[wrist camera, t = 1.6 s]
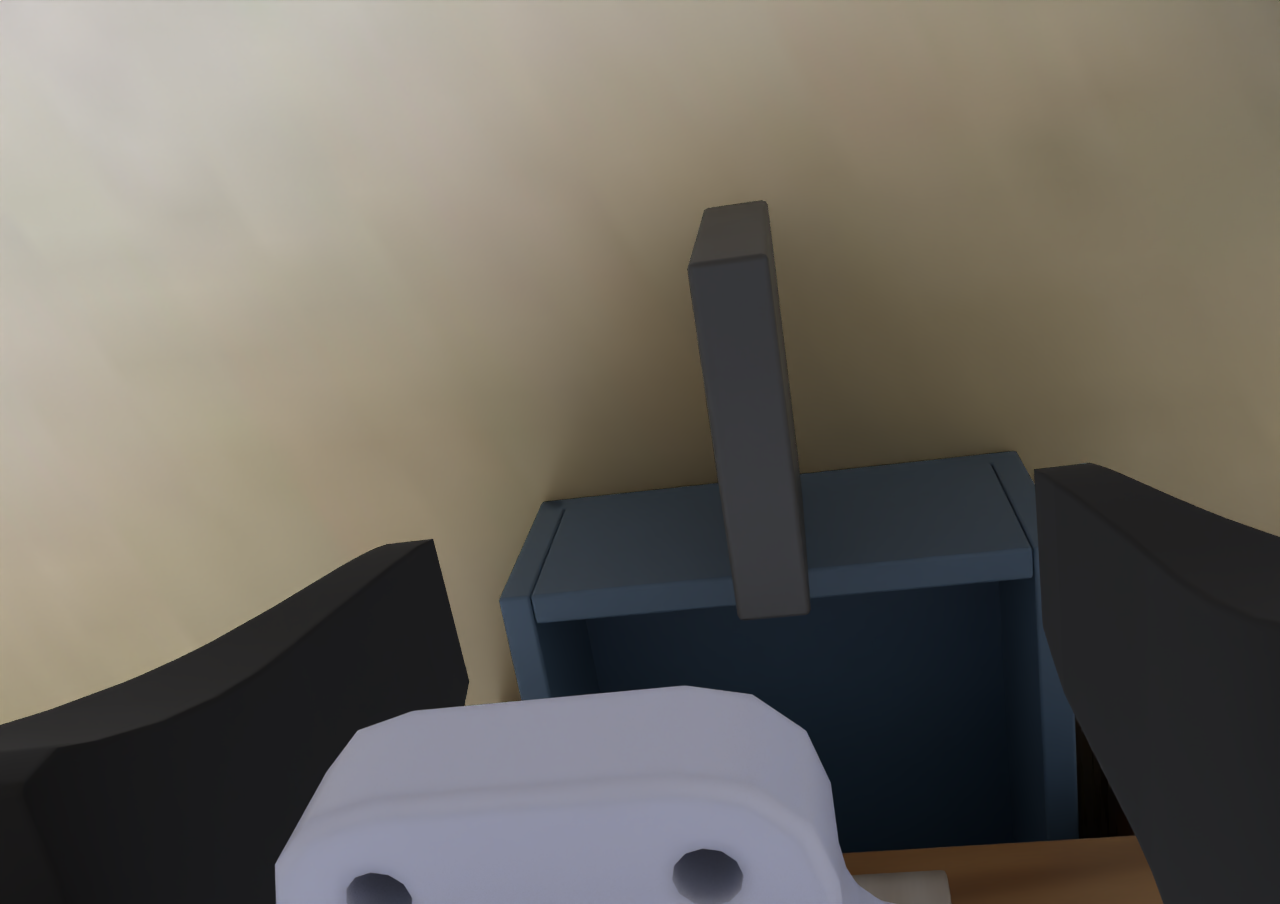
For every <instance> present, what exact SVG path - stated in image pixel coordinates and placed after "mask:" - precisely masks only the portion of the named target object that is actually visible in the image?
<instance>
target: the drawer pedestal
mask: <svg viewBox="0 0 1280 904" xmlns="http://www.w3.org/2000/svg"><path fill="white" fill-rule="evenodd" d="M1075 733H1076V762H1077V791H1078V820H1079V839H1067V840H1051V841H1034V842H1017V843H1001V844H984V845H967V846H951V847H934V848H917V849H900V850H884V851H867V852H850V853H842V855H843V858H844V861H845V865H846V868H847V869H848V871H849V872H850V874H851V875H852V877H853V878H854V880H855V882H856V883H857V884H858V885H859V886H861V887H862V888H863V889H865V890H866V891H868V892H869V893H871V894H872V895H873V896H875V897H876V898H878V899H880V900H882V901H885V902H890V903H895V904H1163V901H1162V898H1161V896H1160V893H1159V890H1158V887H1157V885H1156V882H1155V879H1154V876H1153V874H1152V871H1151V869H1150V867H1149V865H1148V862H1147V860H1146V858H1145V856H1144V853H1143V851H1142V849H1141V846H1140V844H1139V842H1138V840H1137V838H1136V836H1135V834H1134V832H1133V830H1132V828H1131V826H1130V824H1129V822H1128V820H1127V818H1126V816H1125V814H1124V812H1123V810H1122V808H1121V806H1120V804H1119V802H1118V800H1117V798H1116V796H1115V794H1114V792H1113V790H1112V788H1111V786H1110V784H1109V782H1108V780H1107V778H1106V776H1105V774H1104V772H1103V770H1102V769H1101V767H1100V765H1099V763H1098V761H1097V759H1096V757H1095V755H1094V753H1093V751H1092V749H1091V747H1090V745H1089V743H1088V741H1087V739H1086V737H1085V735H1084V733H1083V731H1082V729H1081V727H1080V725H1079V723H1078V721H1077V719H1076V717H1075Z"/></svg>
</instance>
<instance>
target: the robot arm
mask: <svg viewBox="0 0 1280 904" xmlns="http://www.w3.org/2000/svg"><path fill="white" fill-rule="evenodd" d="M1034 478H1035V496H1036V515H1037V533H1038V551H1039V569H1040V587H1041V606H1042V624H1043V629H1044V632H1045V635H1046V639H1047V642H1048V645H1049V648H1050V652H1051V655H1052V658H1053V661H1054V664H1055V667H1056V670H1057V673H1058V676H1059V679H1060V682H1061V685H1062V688H1063V691H1064V694H1065V696H1066V698H1067V700H1068V702H1069V704H1070V706H1071V709H1072V711H1073V713H1074V715H1075V717H1076V719H1077V721H1078V723H1079V725H1080V727H1081V729H1082V731H1083V733H1084V735H1085V737H1086V739H1087V741H1088V743H1089V745H1090V747H1091V749H1092V751H1093V753H1094V755H1095V757H1096V759H1097V761H1098V763H1099V765H1100V767H1101V769H1102V770H1103V772H1104V774H1105V776H1106V778H1107V780H1108V782H1109V784H1110V786H1111V788H1112V790H1113V792H1114V794H1115V796H1116V798H1117V800H1118V802H1119V804H1120V806H1121V808H1122V810H1123V812H1124V814H1125V816H1126V818H1127V820H1128V822H1129V824H1130V826H1131V828H1132V830H1133V832H1134V834H1135V836H1136V838H1137V840H1138V842H1139V844H1140V846H1141V849H1142V851H1143V853H1144V856H1145V858H1146V860H1147V862H1148V865H1149V867H1150V869H1151V871H1152V874H1153V876H1154V879H1155V882H1156V885H1157V887H1158V890H1159V893H1160V896H1161V898H1162V901H1163V904H1280V537H1278V536H1275V535H1272V534H1269V533H1266V532H1263V531H1260V530H1258V529H1255V528H1252V527H1249V526H1246V525H1243V524H1241V523H1238V522H1235V521H1232V520H1229V519H1227V518H1224V517H1222V516H1219V515H1216V514H1214V513H1211V512H1209V511H1206V510H1204V509H1201V508H1199V507H1196V506H1194V505H1192V504H1189V503H1187V502H1185V501H1182V500H1180V499H1178V498H1175V497H1173V496H1171V495H1168V494H1166V493H1164V492H1161V491H1159V490H1157V489H1155V488H1152V487H1150V486H1148V485H1146V484H1143V483H1141V482H1139V481H1137V480H1134V479H1132V478H1130V477H1127V476H1125V475H1123V474H1120V473H1118V472H1116V471H1113V470H1111V469H1108V468H1105V467H1102V466H1100V465H1096V464H1092V463H1085V464H1077V465H1068V466H1059V467H1051V468H1042V469H1034ZM468 685H469V679H468V675H467V671H466V667H465V663H464V659H463V655H462V651H461V647H460V643H459V639H458V635H457V631H456V628H455V624H454V620H453V616H452V612H451V608H450V604H449V600H448V596H447V592H446V588H445V584H444V580H443V576H442V572H441V568H440V564H439V560H438V556H437V552H436V548H435V545H434V541H433V539H429V540H420V541H411V542H403V543H394V544H386V545H383V546H381V547H378V548H375V549H373V550H371V551H369V552H366V553H364V554H363V555H361V556H359V557H357V558H355V559H353V560H351V561H349V562H348V563H346V564H344V565H343V566H341V567H339V568H337V569H336V570H334V571H332V572H331V573H329V574H327V575H326V576H324V577H322V578H321V579H319V580H317V581H316V582H314V583H312V584H311V585H309V586H307V587H306V588H304V589H302V590H301V591H299V592H297V593H296V594H294V595H293V596H291V597H289V598H288V599H286V600H284V601H283V602H281V603H279V604H278V605H276V606H274V607H273V608H271V609H269V610H267V611H265V612H264V613H262V614H260V615H258V616H257V617H255V618H253V619H251V620H249V621H248V622H246V623H244V624H242V625H241V626H239V627H237V628H235V629H233V630H232V631H230V632H228V633H226V634H225V635H223V636H221V637H219V638H217V639H216V640H214V641H212V642H210V643H208V644H206V645H204V646H202V647H200V648H198V649H196V650H194V651H192V652H190V653H188V654H186V655H184V656H182V657H180V658H178V659H176V660H174V661H171V662H169V663H167V664H165V665H163V666H160V667H158V668H156V669H154V670H151V671H149V672H147V673H145V674H143V675H140V676H138V677H136V678H133V679H131V680H128V681H126V682H124V683H121V684H118V685H116V686H113V687H110V688H107V689H105V690H102V691H99V692H97V693H94V694H91V695H89V696H86V697H83V698H80V699H78V700H75V701H72V702H70V703H67V704H64V705H61V706H59V707H56V708H53V709H50V710H47V711H44V712H41V713H38V714H35V715H32V716H28V717H25V718H22V719H18V720H15V721H12V722H9V723H5V724H2V725H0V904H895V903H890V902H885V901H882V900H880V899H878V898H876V897H875V896H873V895H872V894H871V893H869V892H868V891H866V890H865V889H863V888H862V887H861V886H859V885H858V884H857V883H856V882H855V880H854V878H853V877H852V875H851V874H850V872H849V871H848V869H847V868H846V865H845V861H844V858H843V855H842V851H841V848H840V845H839V841H838V833H837V826H836V818H835V811H834V803H833V796H832V788H831V782H830V780H829V778H828V776H827V774H826V772H825V770H824V767H823V765H822V763H821V761H820V759H819V757H818V755H817V753H816V751H815V748H814V746H813V744H812V742H811V740H810V738H809V736H808V734H807V731H806V730H804V729H803V728H801V727H800V726H798V725H797V724H795V723H794V722H793V721H791V720H790V719H788V718H787V717H785V716H784V715H782V714H781V713H779V712H778V711H776V710H775V709H773V708H772V707H770V706H769V705H767V704H766V703H764V702H763V701H761V700H760V699H758V698H757V697H755V696H754V695H753V694H745V693H738V692H730V691H723V690H715V689H708V688H700V687H693V686H674V687H663V688H653V689H642V690H631V691H620V692H610V693H599V694H588V695H578V696H567V697H556V698H545V699H535V700H524V701H513V702H503V703H492V704H481V705H470V706H464V705H465V700H466V695H467V690H468Z"/></svg>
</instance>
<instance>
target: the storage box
mask: <svg viewBox="0 0 1280 904" xmlns="http://www.w3.org/2000/svg"><path fill="white" fill-rule="evenodd" d="M687 270H688V277H689V284H690V291H691V298H692V305H693V312H694V319H695V326H696V332H697V339H698V346H699V353H700V360H701V367H702V374H703V381H704V388H705V394H706V401H707V408H708V415H709V422H710V429H711V436H712V443H713V450H714V457H715V463H716V470H717V477H718V483H713V484H704V485H694V486H685V487H676V488H667V489H657V490H648V491H639V492H630V493H620V494H611V495H602V496H592V497H583V498H574V499H565V500H555V501H546V502H543V503H542V504H541V506H540V509H539V511H538V513H537V515H536V518H535V520H534V522H533V525H532V527H531V529H530V531H529V534H528V536H527V538H526V540H525V543H524V545H523V547H522V549H521V552H520V554H519V556H518V558H517V561H516V563H515V565H514V567H513V570H512V572H511V574H510V576H509V579H508V581H507V583H506V585H505V588H504V590H503V592H502V595H501V597H500V600H499V602H500V607H501V611H502V616H503V620H504V625H505V629H506V634H507V638H508V643H509V647H510V652H511V656H512V661H513V665H514V670H515V674H516V679H517V683H518V688H519V692H520V697H521V701H524V700H535V699H545V698H556V697H567V696H578V695H588V694H599V693H610V692H620V691H631V690H642V689H653V688H663V687H674V686H693V687H700V688H708V689H715V690H723V691H730V692H738V693H745V694H753V695H754V696H755V697H757V698H758V699H760V700H761V701H763V702H764V703H766V704H767V705H769V706H770V707H772V708H773V709H775V710H776V711H778V712H779V713H781V714H782V715H784V716H785V717H787V718H788V719H790V720H791V721H793V722H794V723H795V724H797V725H798V726H800V727H801V728H803V729H804V730H806V731H807V734H808V736H809V738H810V740H811V742H812V744H813V746H814V748H815V751H816V753H817V755H818V757H819V759H820V761H821V763H822V765H823V767H824V770H825V772H826V774H827V776H828V778H829V780H830V782H831V788H832V796H833V803H834V811H835V818H836V826H837V833H838V841H839V845H840V848H841V851H842V853H850V852H867V851H884V850H900V849H917V848H934V847H951V846H967V845H984V844H1001V843H1017V842H1034V841H1051V840H1067V839H1079V820H1078V791H1077V762H1076V733H1075V715H1074V713H1073V711H1072V709H1071V706H1070V704H1069V702H1068V700H1067V698H1066V696H1065V694H1064V691H1063V688H1062V685H1061V682H1060V679H1059V676H1058V673H1057V670H1056V667H1055V664H1054V661H1053V658H1052V655H1051V652H1050V648H1049V645H1048V642H1047V639H1046V635H1045V632H1044V629H1043V624H1042V606H1041V587H1040V569H1039V551H1038V533H1037V515H1036V496H1035V484H1034V482H1033V481H1032V479H1031V477H1030V475H1029V473H1028V472H1027V470H1026V468H1025V466H1024V464H1023V463H1022V461H1021V459H1020V457H1019V455H1018V454H1017V452H1016V451H1009V452H1000V453H991V454H982V455H973V456H963V457H954V458H945V459H936V460H926V461H917V462H908V463H898V464H889V465H880V466H871V467H861V468H852V469H843V470H834V471H824V472H815V473H806V474H800V471H799V463H798V454H797V446H796V437H795V429H794V421H793V412H792V404H791V395H790V387H789V379H788V370H787V362H786V353H785V345H784V336H783V328H782V320H781V311H780V303H779V294H778V286H777V278H776V269H775V261H774V252H773V244H772V235H771V227H770V219H769V210H768V204H767V202H766V201H763V200H761V201H754V202H747V203H740V204H733V205H726V206H719V207H712V208H707V209H705V210H704V213H703V216H702V220H701V223H700V227H699V230H698V234H697V237H696V241H695V244H694V248H693V251H692V255H691V258H690V262H689V265H688V269H687Z"/></svg>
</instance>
